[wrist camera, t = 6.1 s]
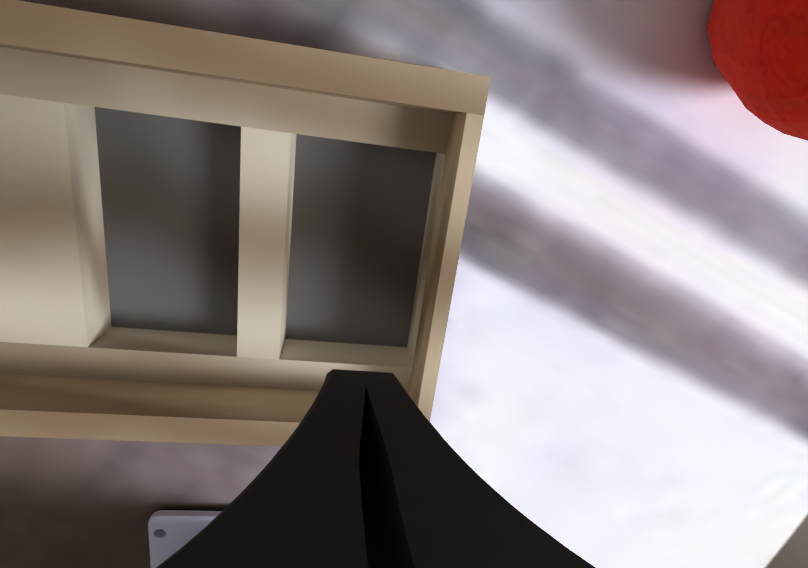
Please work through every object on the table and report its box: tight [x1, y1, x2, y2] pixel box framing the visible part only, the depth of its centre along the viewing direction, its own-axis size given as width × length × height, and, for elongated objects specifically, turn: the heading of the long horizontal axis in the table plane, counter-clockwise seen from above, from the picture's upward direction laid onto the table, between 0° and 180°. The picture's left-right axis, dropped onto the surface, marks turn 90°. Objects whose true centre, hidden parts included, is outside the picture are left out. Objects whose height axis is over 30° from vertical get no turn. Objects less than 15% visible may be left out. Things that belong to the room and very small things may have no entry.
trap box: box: [0, 0, 491, 446], centre depth 15 cm, size 13×24×4 cm, turn 82°
